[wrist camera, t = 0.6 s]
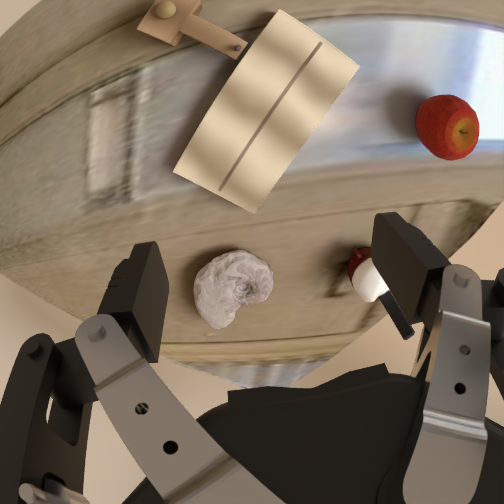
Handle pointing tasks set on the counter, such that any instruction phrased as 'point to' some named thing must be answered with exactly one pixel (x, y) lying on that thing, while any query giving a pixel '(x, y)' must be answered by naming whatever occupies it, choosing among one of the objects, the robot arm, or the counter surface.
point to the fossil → (231, 286)
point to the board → (265, 112)
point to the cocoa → (375, 288)
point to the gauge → (188, 26)
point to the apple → (447, 126)
